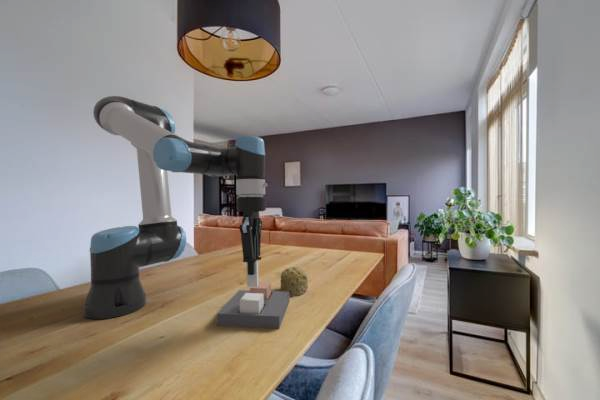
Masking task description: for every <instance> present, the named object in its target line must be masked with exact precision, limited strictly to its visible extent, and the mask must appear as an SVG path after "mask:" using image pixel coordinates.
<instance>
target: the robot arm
mask: <svg viewBox="0 0 600 400" xmlns="http://www.w3.org/2000/svg"><path fill="white" fill-rule="evenodd" d="M93 118H94V120H95V122H96V124H97V125H98V127H100V128H101V129H102V130H104V131H105V132H107V133H109V134H111V135H113V136H120V137H122V138H123V139H125V140H127V141H128V142H130V144H131V146H132V147H134V148H135V149H136V157H137V165H138V166H137V167H138V176H139V178H138V179H139V189H140V197H141V198H140V199H141V200H140V201H141V210H142V211H141V212H142V220H140V222H139V223H138V225H137V226H136V225H127V226H125V225H124V226H119V227H118V226H117V227H113V228H108V229H104V230H99V231H97V232H95V233H94V234H93V235H92V236H91V239H90V246H89V247H90V248H89V253H90V254H89V257H90V258H89V259H90V288H89V289H88V293H87V297H86V300H85V303H84V304H83V308H82V309H83V310H82V312H83V317H85V318H86V319H90V320H105V319H106V320H107V319H112V318H116V317H120V316H121V317H122V316H124V315H128V314H130V313H133V312H136V311H139V310H140V309H141V308H143V307H144V306H146V305H147V294H146V293H145V290H144V288H143V284H142V282H141V279H140V268H143V267H145V266H150V265H156V264H160V263H165V262H166V263H167V262H170V261H172V260H176V259H178V258H179V257H180V256H181V255H182V254H183V253H184V251H185V248H186V246H187V234H186V231H185V230H184V228H183V226H179V225H178V220H177V219H176V218H174V217H173V215H172V208H171V198H170V197H171V196H170V187H169V175H168V172H172V173H186V174H200V175H207V176H208V177H213V178H214V177H215V178H216V177H217V178H220V177H225V176H235V177H236V180H235V181H236V182H235V184H236V185H235V187H236V188H235V190H236V191H235V193H236V194H235V195H237V196H238V197H237V198H236V211H238V213H239V212H240V213H241V212H242V213H243V216H242V220H241V224H239V227H238V228H239V232H240V239H241V248H242V257H243V258H242V259H243V260H242V262H243V263H246V287H247V288H249V287H257V286H258V285H259V283H260V282H259V261H261V260H262V257H261V247H262V246H261V243H262V242H261V241H262V226H263V221H262V220H261V219H262V218H261V217H260V212H265V211H266V209H267V201H266V200H267V199H266V197H265V196H264V195H266V187H268V183H266V175H265V174H266V171H265V170H266V152H265V151H266V149H265V141H264V139H263V138H262V137H260V136H256V135H240V136H238V137H236V138H235V144H234V146H232V147H224V148H221V147H216V146H213V145H207V144H201V143H196V142H192V141H189V140H186V139H184V138H183V137H180V136H179V135H177V134H176V124H175V120H174V119H173V116H172V114H171V113H170V112H168V111H167V110H165V109H163V108H161V107H158V106H156V105H150V104H148V103H143V102H139V101H137V100H134V99H130V98H128V97H124V96H119V95H111V96H107V97H103V98H101V99H100V100H98V101H97V102H96V104H95V105H94V107H93Z"/></svg>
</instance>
